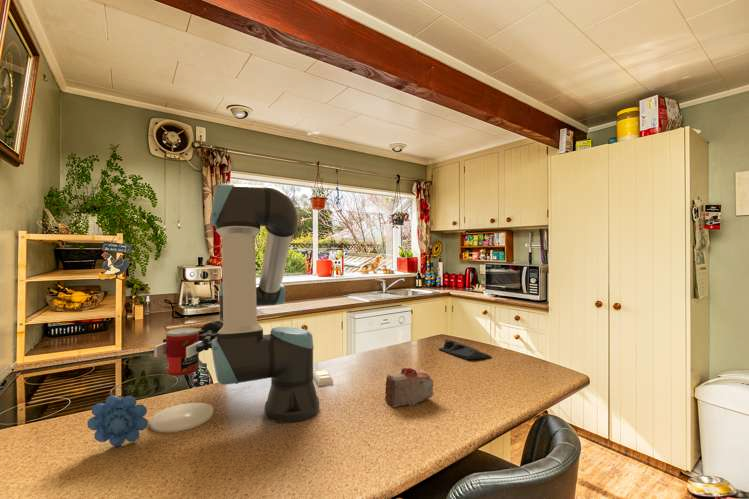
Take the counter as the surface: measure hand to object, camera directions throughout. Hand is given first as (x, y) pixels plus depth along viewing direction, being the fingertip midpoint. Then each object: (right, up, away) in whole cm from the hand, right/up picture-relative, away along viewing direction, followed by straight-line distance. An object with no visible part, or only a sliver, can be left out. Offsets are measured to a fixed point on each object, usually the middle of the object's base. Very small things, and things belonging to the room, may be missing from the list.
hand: (171, 352), depth 93 cm
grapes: (-7, -20, -10) cm, 23 cm away
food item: (+63, -20, +16) cm, 68 cm away
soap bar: (+34, -20, +33) cm, 52 cm away
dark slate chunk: (+92, -20, +66) cm, 115 cm away
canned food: (0, -7, +5) cm, 8 cm away
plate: (0, -19, +4) cm, 20 cm away
